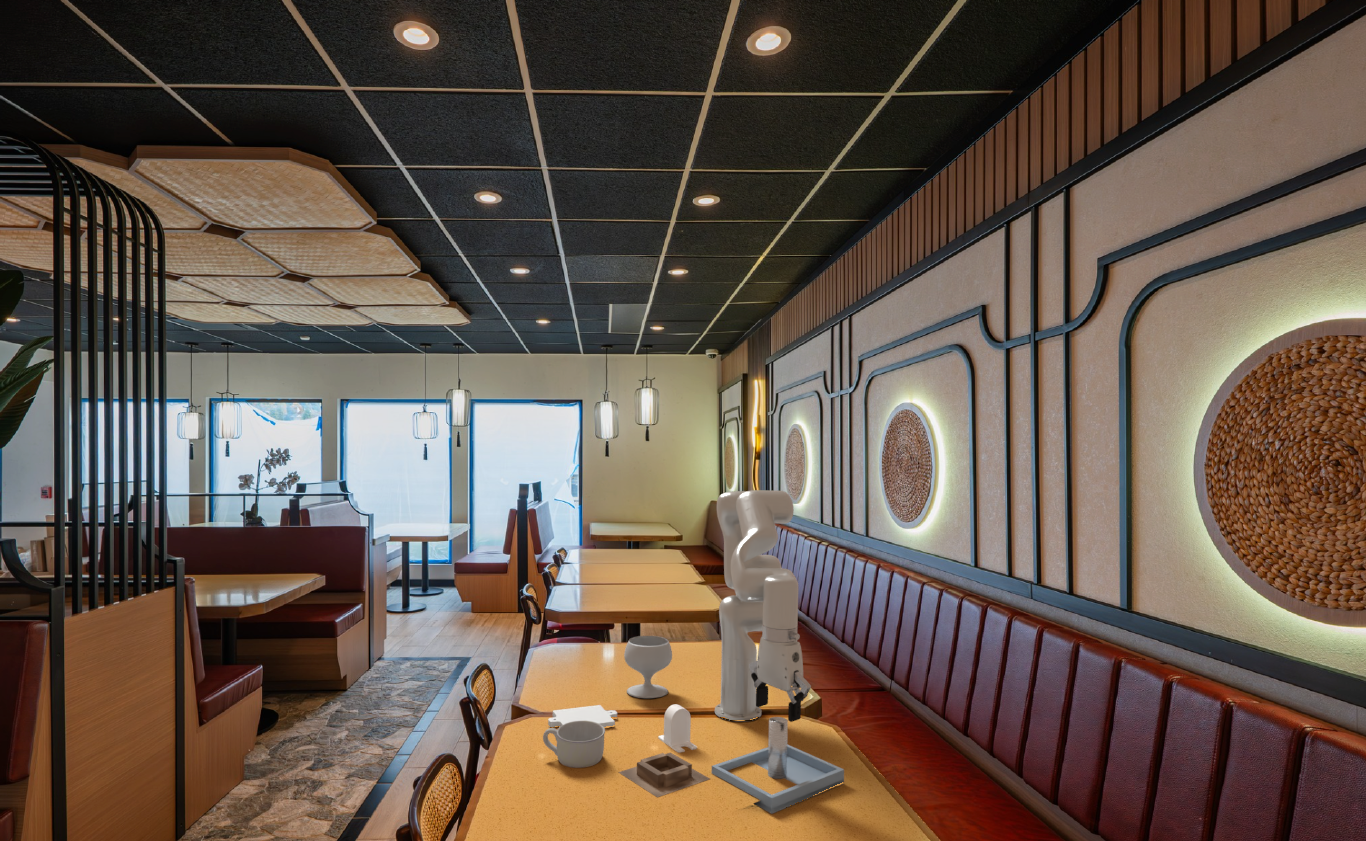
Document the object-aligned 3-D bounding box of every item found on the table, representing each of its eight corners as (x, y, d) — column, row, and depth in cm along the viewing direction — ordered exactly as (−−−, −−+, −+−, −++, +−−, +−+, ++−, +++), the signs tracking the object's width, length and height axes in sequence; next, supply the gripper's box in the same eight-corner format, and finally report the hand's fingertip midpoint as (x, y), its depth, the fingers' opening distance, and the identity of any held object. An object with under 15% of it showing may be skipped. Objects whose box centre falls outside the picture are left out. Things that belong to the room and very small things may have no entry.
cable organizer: (676, 740, 177) (677, 698, 178) (697, 755, 169) (698, 711, 169) (657, 744, 175) (658, 702, 175) (678, 759, 166) (679, 715, 167)
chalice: (670, 701, 205) (671, 647, 205) (621, 700, 205) (622, 646, 206) (672, 685, 219) (673, 635, 219) (625, 684, 219) (626, 634, 220)
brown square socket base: (669, 763, 164) (670, 745, 164) (710, 786, 153) (710, 766, 153) (618, 779, 155) (618, 760, 156) (657, 805, 144) (657, 784, 145)
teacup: (612, 760, 165) (612, 724, 165) (590, 780, 155) (591, 741, 155) (557, 750, 170) (558, 715, 170) (533, 769, 159) (534, 732, 160)
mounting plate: (554, 737, 179) (554, 729, 179) (543, 719, 190) (543, 711, 190) (624, 727, 186) (624, 720, 186) (608, 711, 198) (608, 703, 198)
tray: (782, 755, 170) (782, 742, 170) (843, 783, 156) (844, 769, 156) (711, 780, 156) (711, 765, 156) (771, 813, 142) (771, 798, 142)
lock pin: (777, 771, 159) (778, 715, 159) (790, 778, 156) (791, 721, 156) (764, 776, 156) (765, 719, 157) (777, 782, 153) (778, 725, 154)
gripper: (822, 640, 153) (820, 722, 153) (763, 621, 166) (761, 696, 166) (797, 646, 148) (795, 730, 148) (739, 626, 162) (737, 703, 162)
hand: (777, 712), depth 157 cm, fingers open, 9 cm apart
